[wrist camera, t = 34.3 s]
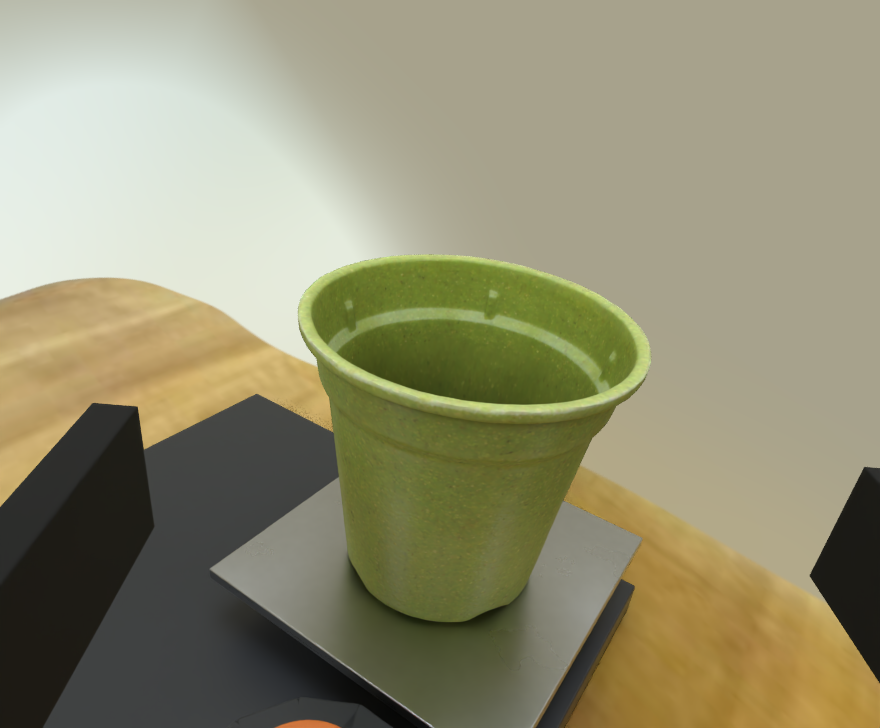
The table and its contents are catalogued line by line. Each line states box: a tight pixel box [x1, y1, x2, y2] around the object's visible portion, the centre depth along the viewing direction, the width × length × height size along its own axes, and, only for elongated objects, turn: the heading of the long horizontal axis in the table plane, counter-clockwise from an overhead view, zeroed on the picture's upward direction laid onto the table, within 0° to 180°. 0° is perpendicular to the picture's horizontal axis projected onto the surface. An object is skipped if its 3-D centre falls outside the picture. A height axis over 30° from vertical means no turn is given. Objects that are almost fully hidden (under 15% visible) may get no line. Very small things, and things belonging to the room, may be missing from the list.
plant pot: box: [298, 254, 651, 622], centre depth 20 cm, size 9×9×9 cm
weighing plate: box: [210, 477, 642, 728], centre depth 22 cm, size 10×10×1 cm
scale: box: [43, 394, 635, 728], centre depth 22 cm, size 20×17×3 cm
